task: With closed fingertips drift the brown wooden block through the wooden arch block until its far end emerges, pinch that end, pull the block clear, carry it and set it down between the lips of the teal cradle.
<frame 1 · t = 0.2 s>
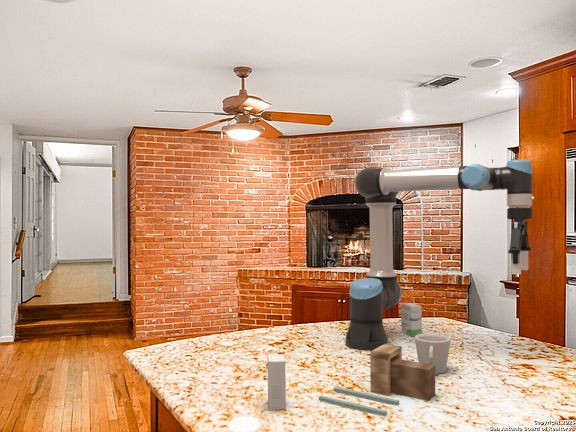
hand: (520, 272, 161), 28 cm above the countertop, fingers open, 13 cm apart
mug: (432, 373, 147), on the countertop
wooden arch block: (386, 388, 133), on the countertop
skincare box: (276, 406, 122), on the countertop
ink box: (411, 334, 194), on the countertop
cradle: (358, 402, 124), on the countertop
brown wooden block: (402, 392, 131), on the countertop
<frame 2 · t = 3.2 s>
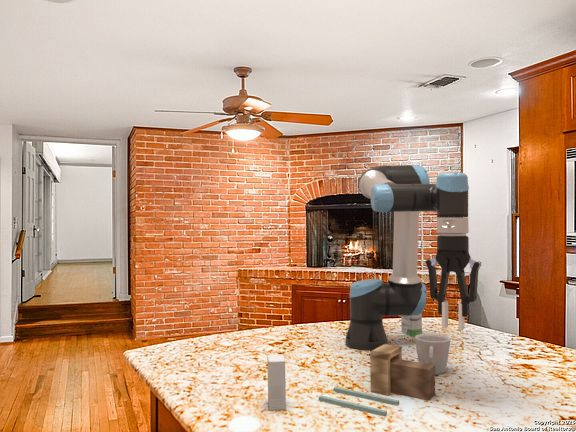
hand: (453, 328, 123), 19 cm above the countertop, fingers open, 3 cm apart
nothing on the countertop moved.
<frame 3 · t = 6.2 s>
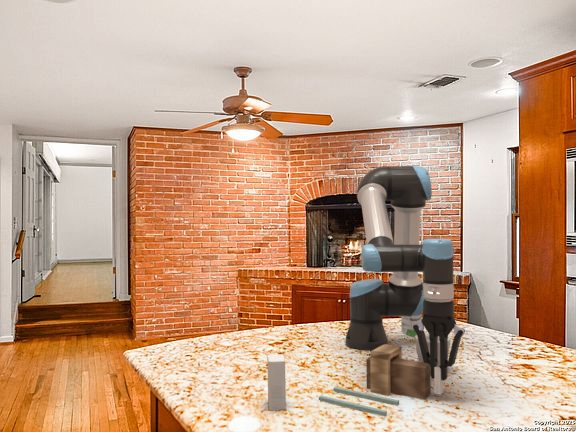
hand: (439, 391, 125), 2 cm above the countertop, fingers closed
brown wooden block: (398, 390, 132), on the countertop, touching gripper
everything else where it was.
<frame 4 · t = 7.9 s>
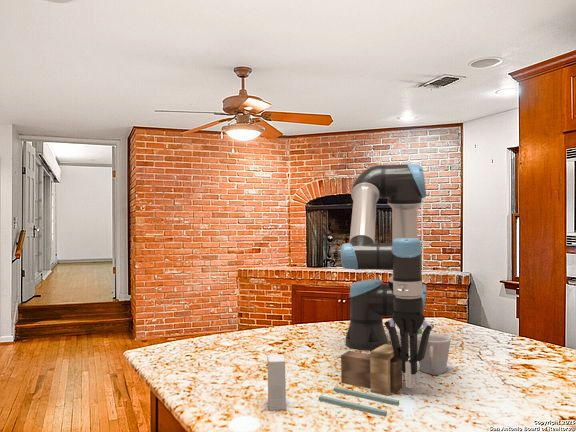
hand: (410, 385, 130), 2 cm above the countertop, fingers closed
brown wooden block: (371, 386, 136), on the countertop
everything else where it was.
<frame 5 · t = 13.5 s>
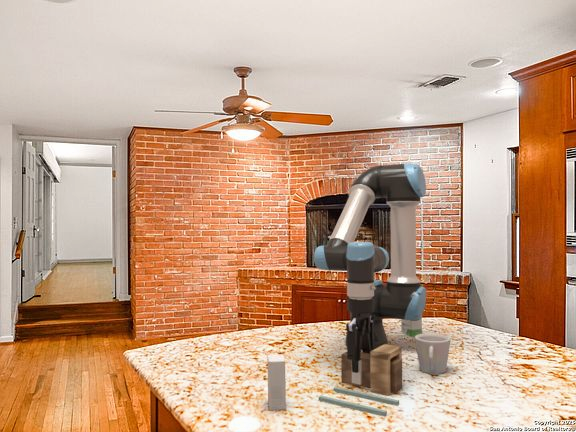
hand: (361, 380, 138), 1 cm above the countertop, fingers closed on brown wooden block, 5 cm apart
brown wooden block: (371, 385, 136), on the countertop, touching gripper
everything else where it was.
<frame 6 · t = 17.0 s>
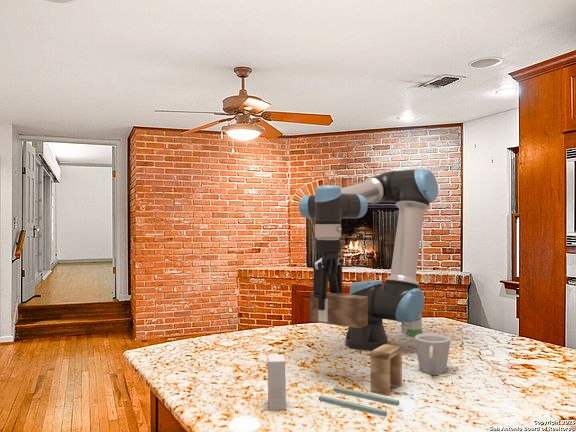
hand: (328, 319, 142), 17 cm above the countertop, fingers closed on brown wooden block, 5 cm apart
brown wooden block: (338, 323, 140), point 16 cm above the countertop, touching gripper
everything else where it was.
when the fingers open (2 cm above the countertop, at t = 20.8 s): brown wooden block drops 2 cm, on the countertop.
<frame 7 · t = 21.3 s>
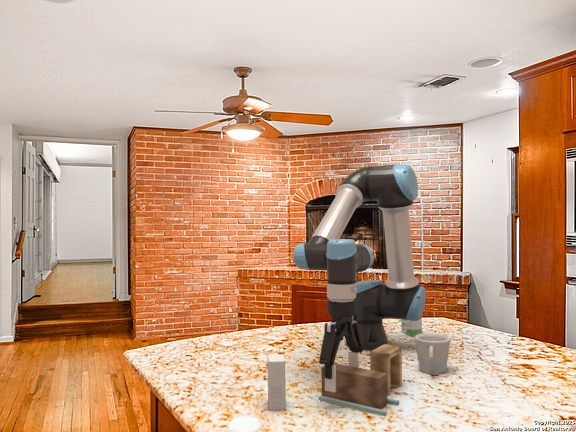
hand: (342, 383, 126), 4 cm above the countertop, fingers open, 12 cm apart
brown wooden block: (353, 401, 125), on the countertop
everything else where it was.
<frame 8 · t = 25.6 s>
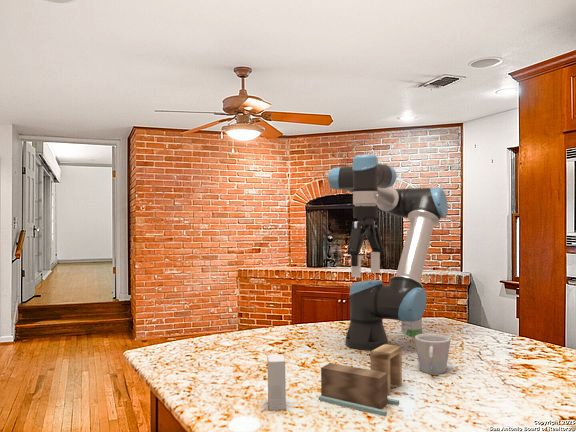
hand: (366, 274, 151), 29 cm above the countertop, fingers open, 13 cm apart
nothing on the countertop moved.
at the end: brown wooden block inside the target area on the cradle (1.3 cm from its centre), point 0.0 cm above the cradle's base; brown wooden block touching countertop; the gripper is holding nothing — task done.
